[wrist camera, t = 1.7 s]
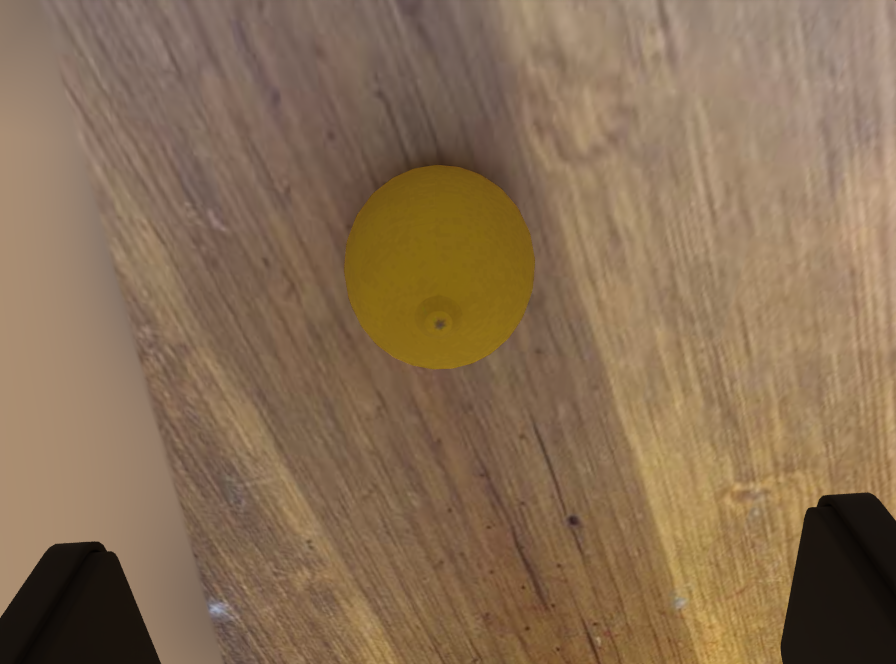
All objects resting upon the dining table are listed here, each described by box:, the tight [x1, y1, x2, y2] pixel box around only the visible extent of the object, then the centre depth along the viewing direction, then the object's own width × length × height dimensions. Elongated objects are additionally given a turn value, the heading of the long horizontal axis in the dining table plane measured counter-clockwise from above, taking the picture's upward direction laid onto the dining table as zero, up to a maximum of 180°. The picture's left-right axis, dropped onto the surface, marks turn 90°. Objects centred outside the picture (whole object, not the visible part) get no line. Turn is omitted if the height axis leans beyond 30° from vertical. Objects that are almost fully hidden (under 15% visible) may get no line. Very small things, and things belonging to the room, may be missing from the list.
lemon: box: [344, 165, 535, 369], centre depth 21 cm, size 6×6×8 cm
